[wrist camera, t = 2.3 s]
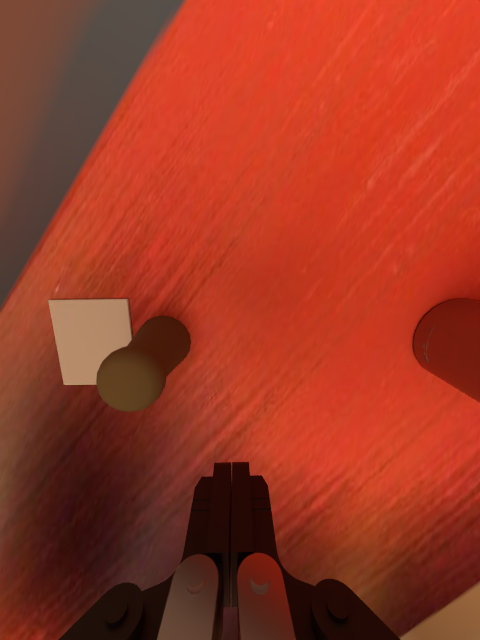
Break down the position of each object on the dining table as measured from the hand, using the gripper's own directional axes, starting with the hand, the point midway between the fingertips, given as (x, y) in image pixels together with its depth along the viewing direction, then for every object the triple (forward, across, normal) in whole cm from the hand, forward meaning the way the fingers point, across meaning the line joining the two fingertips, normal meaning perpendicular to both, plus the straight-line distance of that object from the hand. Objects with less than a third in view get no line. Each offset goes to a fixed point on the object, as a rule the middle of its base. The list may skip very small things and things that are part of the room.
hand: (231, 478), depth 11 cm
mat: (+19, +16, 0) cm, 25 cm away
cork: (+19, +8, 0) cm, 21 cm away
